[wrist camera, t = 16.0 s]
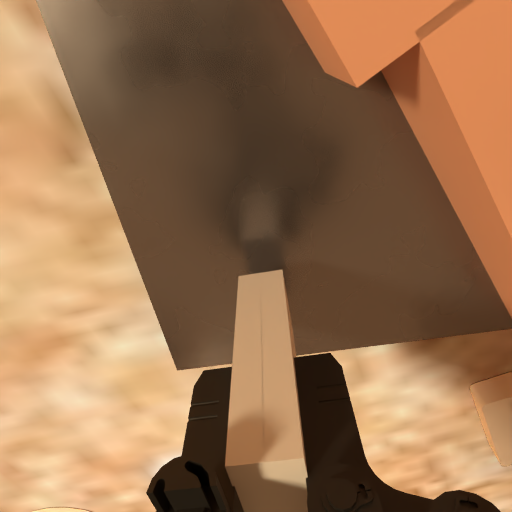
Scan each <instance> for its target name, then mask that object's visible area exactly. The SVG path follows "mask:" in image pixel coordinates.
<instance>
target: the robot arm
mask: <svg viewBox="0 0 512 512" xmlns="http://www.w3.org/2000/svg"><path fill="white" fill-rule="evenodd" d="M188 419H189V422H188V423H187V429H186V434H185V440H184V446H183V451H182V456H181V457H177V458H174V459H172V460H171V461H170V462H168V463H167V464H165V465H164V466H162V467H161V468H160V470H159V471H158V472H157V473H156V475H155V476H154V477H153V478H152V480H151V483H150V485H149V488H148V490H147V492H146V493H147V495H148V497H149V499H150V500H151V502H152V504H153V505H154V507H155V509H156V510H157V511H156V512H500V511H499V510H498V509H497V508H496V507H495V506H494V505H493V504H492V503H491V502H489V501H487V500H486V499H484V498H482V497H480V496H479V495H477V494H474V493H470V492H465V491H461V490H456V491H449V492H444V493H443V494H441V495H440V496H439V497H437V498H436V499H434V500H432V499H428V498H424V497H420V496H416V495H412V494H407V493H404V492H401V491H399V490H396V489H393V488H392V487H390V486H388V485H387V484H385V483H384V482H383V481H381V480H380V479H379V478H378V477H377V476H376V475H375V474H374V472H373V471H372V469H371V468H370V466H369V465H368V462H367V460H366V457H365V454H364V450H363V447H362V443H361V439H360V435H359V431H358V427H357V424H356V420H355V416H354V412H353V408H352V404H351V401H350V397H349V393H348V389H347V386H346V381H345V378H344V374H343V370H342V366H341V365H340V364H339V363H338V362H337V360H336V359H335V358H334V357H333V356H332V355H331V353H326V354H318V355H310V356H303V357H296V351H295V343H294V335H293V328H292V322H291V317H290V311H289V305H288V299H287V293H286V287H285V282H284V276H283V270H275V271H269V272H262V273H256V274H249V275H243V276H239V277H238V291H237V305H236V319H235V333H234V347H233V361H232V367H227V368H220V369H212V370H204V371H203V373H202V374H201V376H200V377H199V379H198V381H197V382H196V384H195V385H194V389H193V395H192V400H191V407H190V412H189V417H188Z"/></svg>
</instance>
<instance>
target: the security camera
mask: <svg viewBox="0 0 512 512" xmlns="http://www.w3.org/2000/svg"><path fill="white" fill-rule="evenodd" d="M470 391H471V394H472V397H473V400H474V403H475V406H476V409H477V412H478V414H479V417H480V420H481V423H482V426H483V429H484V432H485V435H486V438H487V440H488V443H489V445H490V447H491V449H492V450H493V452H494V454H495V456H496V457H497V459H498V461H499V463H500V464H501V466H510V465H512V372H509V373H506V374H503V375H499V376H496V377H493V378H490V379H487V380H484V381H480V382H477V383H474V384H472V385H471V386H470Z"/></svg>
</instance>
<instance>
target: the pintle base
mask: <svg viewBox="0 0 512 512" xmlns="http://www.w3.org/2000/svg"><path fill="white" fill-rule="evenodd" d="M36 2H37V4H38V7H39V10H40V12H41V15H42V18H43V20H44V23H45V25H46V28H47V31H48V33H49V36H50V38H51V41H52V44H53V46H54V49H55V52H56V54H57V57H58V59H59V62H60V65H61V67H62V70H63V72H64V75H65V78H66V80H67V83H68V86H69V88H70V91H71V93H72V96H73V99H74V101H75V104H76V106H77V109H78V112H79V114H80V117H81V120H82V122H83V125H84V127H85V130H86V133H87V135H88V138H89V140H90V143H91V146H92V148H93V151H94V154H95V156H96V159H97V161H98V164H99V167H100V169H101V172H102V174H103V177H104V180H105V182H106V185H107V188H108V190H109V193H110V195H111V198H112V201H113V203H114V206H115V208H116V211H117V214H118V216H119V219H120V222H121V224H122V227H123V229H124V232H125V235H126V237H127V240H128V242H129V245H130V248H131V250H132V253H133V256H134V258H135V261H136V263H137V266H138V269H139V271H140V274H141V276H142V279H143V282H144V284H145V287H146V290H147V292H148V295H149V297H150V300H151V303H152V305H153V308H154V310H155V313H156V316H157V318H158V321H159V324H160V326H161V329H162V331H163V334H164V337H165V339H166V342H167V344H168V347H169V350H170V352H171V355H172V358H173V360H174V363H175V365H176V368H177V370H184V369H192V368H200V367H208V366H216V365H224V364H232V361H233V347H234V333H235V319H236V305H237V291H238V277H239V276H243V275H249V274H256V273H262V272H269V271H275V270H283V276H284V282H285V287H286V293H287V299H288V305H289V311H290V317H291V322H292V328H293V335H294V343H295V351H296V355H304V354H312V353H320V352H328V351H337V350H345V349H353V348H361V347H369V346H377V345H385V344H393V343H401V342H409V341H417V340H425V339H433V338H441V337H449V336H457V335H465V334H473V333H481V332H489V331H497V330H505V329H512V318H511V316H510V314H509V312H508V310H507V309H506V307H505V305H504V303H503V301H502V299H501V297H500V295H499V293H498V292H497V290H496V288H495V286H494V284H493V282H492V280H491V278H490V276H489V274H488V273H487V271H486V269H485V267H484V265H483V263H482V261H481V259H480V257H479V255H478V254H477V252H476V250H475V248H474V246H473V244H472V242H471V240H470V238H469V237H468V235H467V233H466V231H465V229H464V227H463V225H462V223H461V221H460V219H459V218H458V216H457V214H456V212H455V210H454V208H453V206H452V204H451V202H450V200H449V199H448V197H447V195H446V193H445V191H444V189H443V187H442V185H441V183H440V182H439V180H438V178H437V176H436V174H435V172H434V170H433V168H432V166H431V164H430V163H429V161H428V159H427V157H426V155H425V153H424V151H423V149H422V147H421V145H420V144H419V142H418V140H417V138H416V136H415V134H414V132H413V130H412V128H411V127H410V125H409V123H408V121H407V119H406V117H405V115H404V113H403V111H402V109H401V108H400V106H399V104H398V102H397V100H396V98H395V96H394V94H393V92H392V90H391V89H390V87H389V85H388V83H387V81H386V79H385V77H384V75H383V73H382V72H381V71H379V72H378V73H377V74H375V75H374V76H372V77H371V78H370V79H368V80H367V81H366V82H364V83H363V84H362V85H360V86H359V87H358V88H356V87H354V86H352V85H350V84H348V83H346V82H344V81H342V80H340V79H337V78H335V77H333V76H331V75H329V74H327V73H325V72H324V70H323V68H322V67H321V65H320V63H319V62H318V60H317V58H316V57H315V55H314V53H313V52H312V50H311V48H310V46H309V45H308V43H307V41H306V40H305V38H304V36H303V35H302V33H301V31H300V30H299V28H298V26H297V25H296V23H295V21H294V20H293V18H292V16H291V14H290V13H289V11H288V9H287V8H286V6H285V4H284V3H283V1H282V0H36Z"/></svg>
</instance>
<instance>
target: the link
mask: <svg viewBox="0 0 512 512" xmlns="http://www.w3.org/2000/svg"><path fill="white" fill-rule="evenodd" d="M282 1H283V3H284V4H285V6H286V8H287V9H288V11H289V13H290V14H291V16H292V18H293V20H294V21H295V23H296V25H297V26H298V28H299V30H300V31H301V33H302V35H303V36H304V38H305V40H306V41H307V43H308V45H309V46H310V48H311V50H312V52H313V53H314V55H315V57H316V58H317V60H318V62H319V63H320V65H321V67H322V68H323V70H324V72H325V73H327V74H329V75H331V76H333V77H335V78H337V79H340V80H342V81H344V82H346V83H348V84H350V85H352V86H354V87H356V88H358V87H359V86H360V85H362V84H363V83H364V82H366V81H367V80H368V79H370V78H371V77H372V76H374V75H375V74H377V73H378V72H379V71H381V72H382V73H383V75H384V77H385V79H386V81H387V83H388V85H389V87H390V89H391V90H392V92H393V94H394V96H395V98H396V100H397V102H398V104H399V106H400V108H401V109H402V111H403V113H404V115H405V117H406V119H407V121H408V123H409V125H410V127H411V128H412V130H413V132H414V134H415V136H416V138H417V140H418V142H419V144H420V145H421V147H422V149H423V151H424V153H425V155H426V157H427V159H428V161H429V163H430V164H431V166H432V168H433V170H434V172H435V174H436V176H437V178H438V180H439V182H440V183H441V185H442V187H443V189H444V191H445V193H446V195H447V197H448V199H449V200H450V202H451V204H452V206H453V208H454V210H455V212H456V214H457V216H458V218H459V219H460V221H461V223H462V225H463V227H464V229H465V231H466V233H467V235H468V237H469V238H470V240H471V242H472V244H473V246H474V248H475V250H476V252H477V254H478V255H479V257H480V259H481V261H482V263H483V265H484V267H485V269H486V271H487V273H488V274H489V276H490V278H491V280H492V282H493V284H494V286H495V288H496V290H497V292H498V293H499V295H500V297H501V299H502V301H503V303H504V305H505V307H506V309H507V310H508V312H509V314H510V316H511V318H512V0H282Z"/></svg>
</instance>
